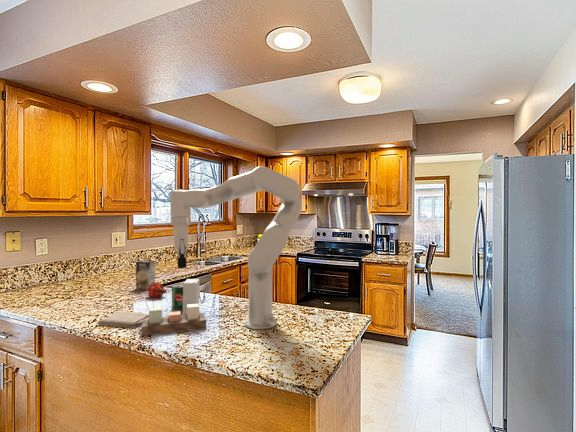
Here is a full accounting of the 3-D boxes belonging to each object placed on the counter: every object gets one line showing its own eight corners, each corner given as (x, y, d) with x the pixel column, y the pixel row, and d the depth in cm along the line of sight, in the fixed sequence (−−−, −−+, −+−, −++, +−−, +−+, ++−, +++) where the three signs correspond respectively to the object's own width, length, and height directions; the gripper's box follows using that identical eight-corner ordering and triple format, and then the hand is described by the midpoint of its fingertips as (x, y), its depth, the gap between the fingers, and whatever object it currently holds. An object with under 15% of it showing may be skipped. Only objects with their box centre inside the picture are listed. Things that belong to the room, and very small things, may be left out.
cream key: (198, 315, 134) (198, 303, 134) (199, 318, 130) (199, 306, 130) (186, 316, 133) (186, 304, 133) (187, 320, 129) (187, 307, 129)
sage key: (161, 319, 130) (161, 306, 130) (161, 322, 126) (161, 309, 125) (149, 320, 128) (149, 307, 128) (149, 324, 124) (149, 311, 124)
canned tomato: (181, 305, 160) (181, 282, 160) (192, 307, 156) (192, 284, 156) (167, 309, 154) (167, 285, 153) (179, 311, 150) (179, 287, 149)
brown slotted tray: (203, 320, 138) (203, 312, 138) (205, 328, 128) (206, 320, 128) (143, 326, 130) (143, 318, 130) (141, 335, 121) (141, 326, 121)
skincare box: (186, 311, 151) (186, 278, 151) (199, 310, 151) (199, 278, 151) (182, 316, 142) (182, 282, 142) (196, 316, 143) (196, 282, 143)
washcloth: (136, 329, 129) (136, 321, 128) (96, 326, 132) (96, 318, 132) (154, 319, 140) (154, 312, 140) (117, 317, 144) (117, 310, 144)
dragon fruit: (152, 297, 182) (161, 304, 173) (140, 290, 176) (149, 297, 168) (162, 283, 184) (171, 290, 176) (150, 276, 179) (159, 283, 171)
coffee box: (135, 288, 195) (135, 261, 195) (141, 286, 201) (141, 260, 201) (149, 289, 193) (149, 262, 193) (155, 287, 200) (155, 260, 200)
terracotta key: (180, 323, 132) (180, 311, 132) (180, 327, 128) (180, 314, 128) (168, 324, 131) (168, 312, 131) (168, 328, 126) (168, 315, 126)
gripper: (170, 221, 136) (171, 265, 136) (171, 222, 122) (172, 271, 122) (189, 220, 139) (190, 264, 139) (192, 221, 125) (193, 269, 125)
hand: (182, 267), depth 131 cm, fingers closed
